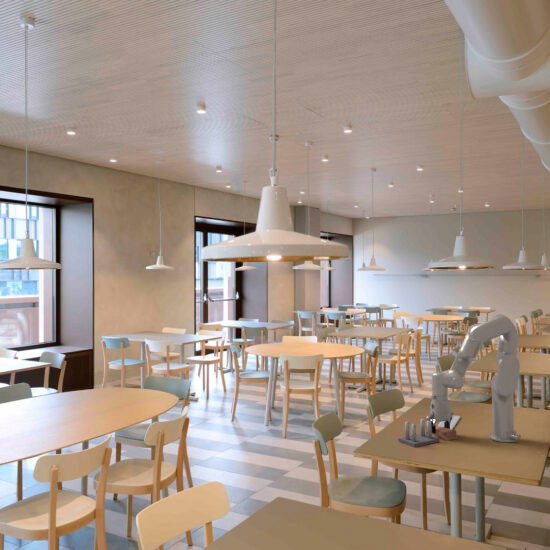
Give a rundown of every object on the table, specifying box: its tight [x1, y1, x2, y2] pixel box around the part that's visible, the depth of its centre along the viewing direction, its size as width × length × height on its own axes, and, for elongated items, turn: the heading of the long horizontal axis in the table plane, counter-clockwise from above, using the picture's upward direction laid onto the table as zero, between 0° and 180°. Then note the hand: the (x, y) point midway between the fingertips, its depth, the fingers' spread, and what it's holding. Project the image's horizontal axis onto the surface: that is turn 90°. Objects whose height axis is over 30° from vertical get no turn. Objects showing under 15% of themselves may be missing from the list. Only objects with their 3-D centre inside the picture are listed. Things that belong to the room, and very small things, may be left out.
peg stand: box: [397, 418, 440, 448], centre depth 263 cm, size 11×16×10 cm
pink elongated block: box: [425, 424, 457, 441], centre depth 272 cm, size 14×6×4 cm, turn 29°
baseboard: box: [437, 413, 462, 430], centre depth 296 cm, size 30×3×10 cm
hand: (440, 431), depth 272 cm, fingers open, 9 cm apart
